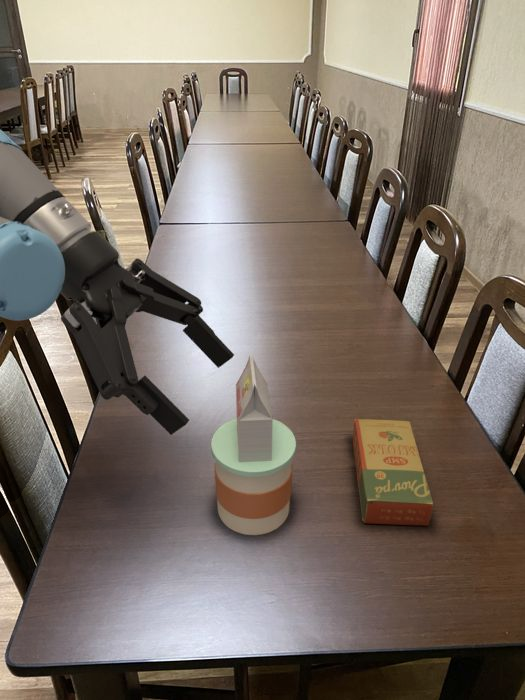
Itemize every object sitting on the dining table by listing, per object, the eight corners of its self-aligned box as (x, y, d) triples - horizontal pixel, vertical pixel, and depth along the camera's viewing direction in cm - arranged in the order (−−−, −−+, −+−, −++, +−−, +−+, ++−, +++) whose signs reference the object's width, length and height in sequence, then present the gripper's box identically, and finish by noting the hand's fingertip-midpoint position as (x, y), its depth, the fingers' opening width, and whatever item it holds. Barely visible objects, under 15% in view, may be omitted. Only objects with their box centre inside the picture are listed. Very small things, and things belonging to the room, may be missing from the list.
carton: (407, 442, 80) (411, 419, 78) (430, 528, 66) (436, 503, 64) (350, 439, 80) (353, 416, 78) (362, 524, 67) (366, 500, 64)
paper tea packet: (266, 422, 66) (267, 354, 61) (271, 460, 61) (273, 388, 55) (236, 424, 66) (235, 355, 61) (239, 462, 60) (237, 389, 55)
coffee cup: (202, 526, 66) (197, 460, 61) (230, 471, 74) (228, 409, 69) (280, 546, 64) (283, 480, 58) (300, 487, 72) (304, 424, 66)
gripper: (3, 275, 45) (178, 448, 49) (144, 199, 66) (260, 325, 70) (-32, 321, 49) (133, 477, 53) (112, 236, 70) (223, 353, 74)
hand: (205, 391), depth 62 cm, fingers open, 13 cm apart
